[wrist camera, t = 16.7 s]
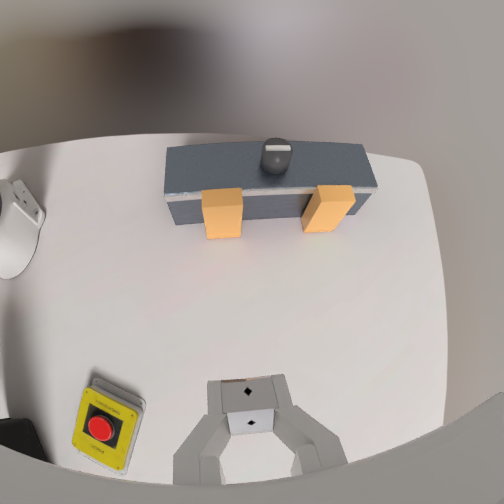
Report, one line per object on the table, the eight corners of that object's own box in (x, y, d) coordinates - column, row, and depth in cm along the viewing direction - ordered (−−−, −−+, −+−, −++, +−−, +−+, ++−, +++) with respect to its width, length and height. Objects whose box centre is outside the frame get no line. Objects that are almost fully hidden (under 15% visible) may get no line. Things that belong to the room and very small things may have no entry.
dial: (291, 174, 38) (296, 158, 35) (262, 174, 37) (264, 159, 34) (286, 151, 39) (290, 136, 36) (258, 151, 39) (260, 135, 36)
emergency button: (139, 405, 31) (117, 486, 26) (148, 400, 35) (126, 476, 30) (82, 375, 32) (64, 456, 27) (95, 374, 36) (77, 449, 31)
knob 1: (240, 236, 44) (243, 204, 35) (207, 239, 43) (201, 207, 34) (233, 161, 49) (234, 121, 39) (204, 162, 48) (201, 123, 39)
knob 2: (332, 231, 46) (355, 201, 36) (303, 232, 45) (321, 201, 36) (315, 159, 50) (330, 122, 41) (288, 159, 50) (300, 121, 40)
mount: (355, 216, 47) (378, 188, 38) (175, 227, 44) (163, 196, 35) (343, 176, 50) (362, 144, 41) (176, 182, 47) (167, 147, 38)
